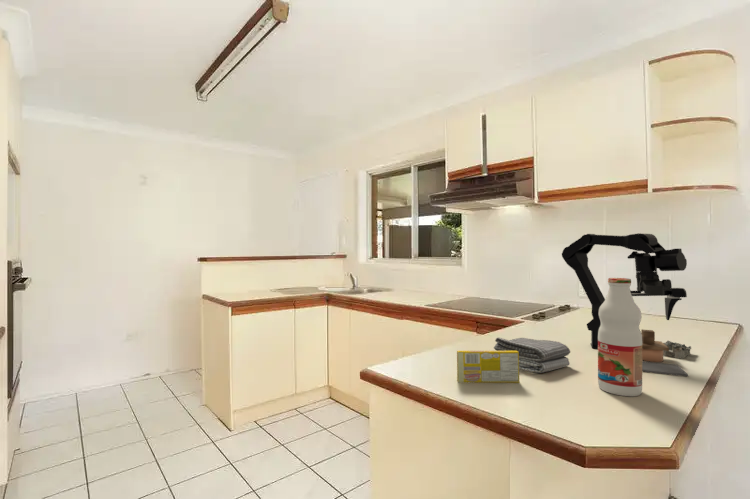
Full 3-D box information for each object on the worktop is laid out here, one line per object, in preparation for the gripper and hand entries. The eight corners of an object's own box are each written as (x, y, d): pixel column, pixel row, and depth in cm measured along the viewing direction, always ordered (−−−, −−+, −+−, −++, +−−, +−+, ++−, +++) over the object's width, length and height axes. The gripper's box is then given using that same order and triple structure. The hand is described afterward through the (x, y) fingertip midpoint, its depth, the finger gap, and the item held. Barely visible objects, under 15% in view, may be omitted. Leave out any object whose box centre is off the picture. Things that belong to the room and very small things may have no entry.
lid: (634, 347, 123) (634, 332, 123) (628, 341, 131) (628, 327, 131) (668, 350, 119) (668, 334, 119) (661, 344, 127) (661, 329, 127)
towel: (544, 377, 107) (544, 349, 107) (489, 361, 122) (489, 337, 122) (571, 367, 116) (571, 341, 116) (517, 354, 131) (517, 331, 131)
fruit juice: (652, 396, 92) (652, 279, 92) (615, 398, 91) (615, 279, 92) (623, 383, 102) (623, 277, 102) (589, 384, 101) (589, 277, 101)
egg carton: (682, 360, 124) (682, 347, 124) (655, 355, 130) (655, 342, 130) (694, 355, 130) (694, 342, 130) (667, 350, 136) (667, 338, 136)
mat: (640, 371, 111) (640, 369, 111) (633, 362, 121) (633, 360, 121) (688, 376, 107) (688, 374, 107) (677, 366, 116) (677, 364, 116)
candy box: (517, 380, 104) (517, 350, 104) (519, 383, 102) (519, 352, 102) (456, 380, 104) (456, 349, 104) (458, 382, 102) (458, 351, 102)
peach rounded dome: (635, 360, 123) (635, 347, 123) (630, 354, 130) (630, 342, 130) (666, 363, 120) (666, 350, 120) (659, 356, 127) (659, 344, 127)
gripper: (619, 272, 122) (623, 322, 120) (691, 270, 115) (696, 323, 114) (611, 272, 132) (615, 318, 131) (677, 270, 125) (682, 319, 124)
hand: (650, 320), depth 125 cm, fingers open, 9 cm apart
